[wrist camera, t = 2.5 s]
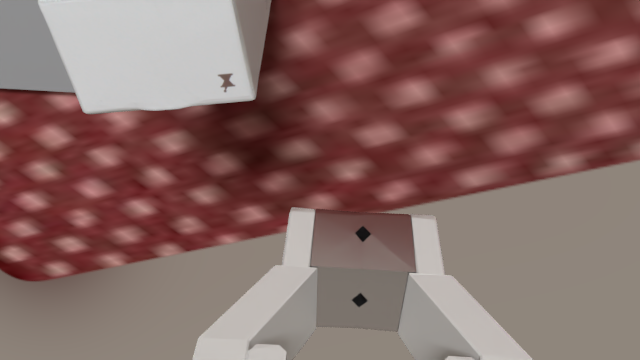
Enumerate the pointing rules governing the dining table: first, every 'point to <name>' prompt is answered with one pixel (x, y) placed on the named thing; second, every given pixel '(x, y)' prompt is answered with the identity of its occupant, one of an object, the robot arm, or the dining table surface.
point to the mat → (29, 50)
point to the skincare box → (159, 51)
